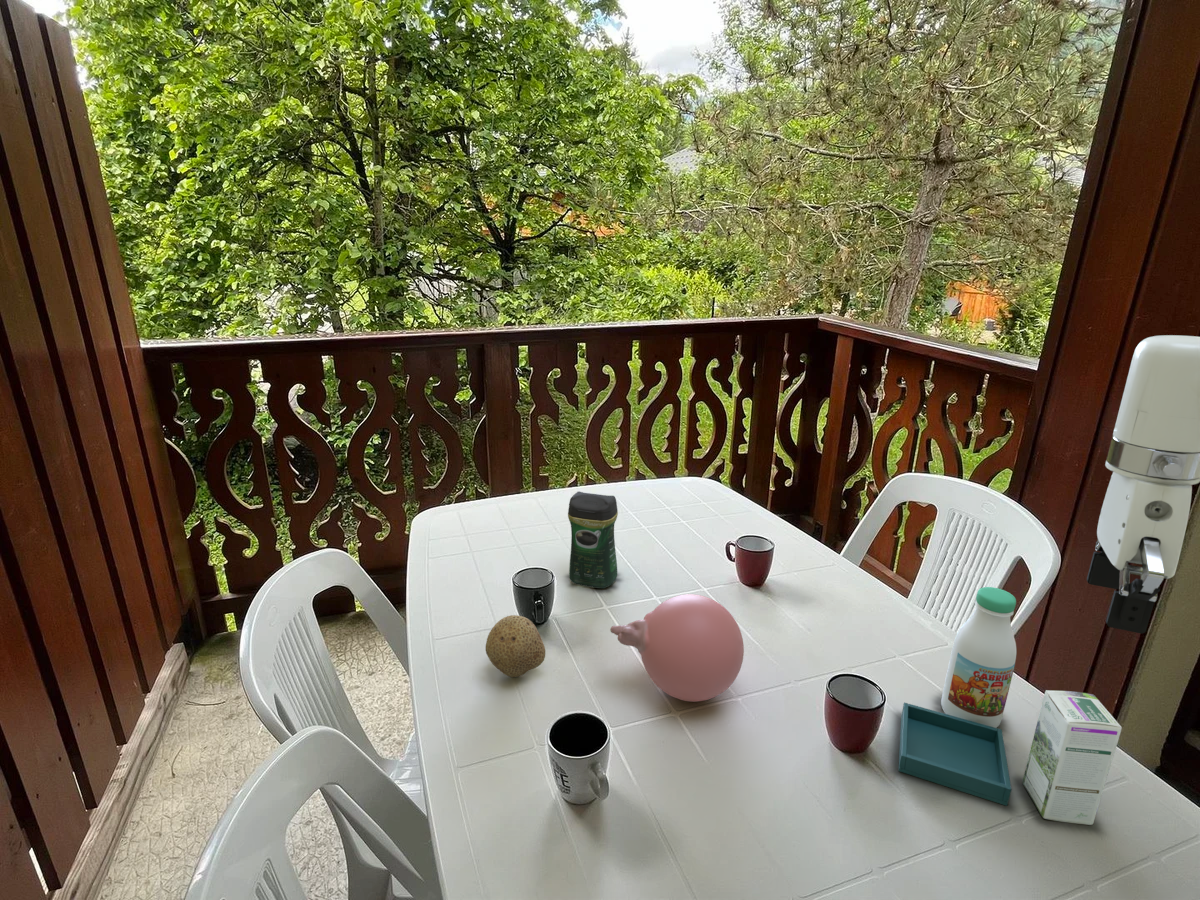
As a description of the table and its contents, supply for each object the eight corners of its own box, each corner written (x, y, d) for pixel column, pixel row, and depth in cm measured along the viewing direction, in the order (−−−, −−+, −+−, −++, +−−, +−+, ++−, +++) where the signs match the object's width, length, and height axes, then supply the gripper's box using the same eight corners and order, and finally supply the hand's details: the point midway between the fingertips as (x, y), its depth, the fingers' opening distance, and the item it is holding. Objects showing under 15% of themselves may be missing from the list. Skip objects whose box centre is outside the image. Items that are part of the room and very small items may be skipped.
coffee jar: (621, 574, 132) (622, 490, 126) (609, 593, 125) (610, 505, 119) (577, 566, 135) (577, 484, 129) (563, 584, 128) (562, 499, 122)
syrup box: (1095, 827, 75) (1127, 727, 71) (1040, 820, 76) (1069, 721, 72) (1069, 788, 81) (1097, 693, 76) (1018, 781, 81) (1043, 687, 77)
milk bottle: (928, 702, 96) (952, 584, 89) (968, 692, 98) (994, 576, 92) (970, 738, 89) (999, 613, 82) (1013, 726, 91) (1044, 604, 85)
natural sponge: (479, 664, 103) (476, 610, 100) (530, 649, 107) (528, 597, 104) (497, 698, 96) (494, 641, 93) (551, 680, 100) (550, 625, 97)
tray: (998, 744, 87) (1001, 729, 87) (1007, 806, 78) (1011, 789, 77) (901, 716, 93) (903, 702, 92) (898, 771, 83) (901, 755, 82)
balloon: (618, 649, 107) (620, 568, 103) (739, 664, 104) (746, 581, 99) (600, 711, 93) (601, 621, 88) (740, 732, 89) (748, 638, 85)
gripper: (1237, 493, 56) (1183, 659, 61) (1174, 441, 71) (1134, 578, 76) (1131, 480, 59) (1088, 638, 64) (1091, 433, 74) (1059, 565, 79)
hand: (1113, 606), depth 70 cm, fingers open, 9 cm apart
